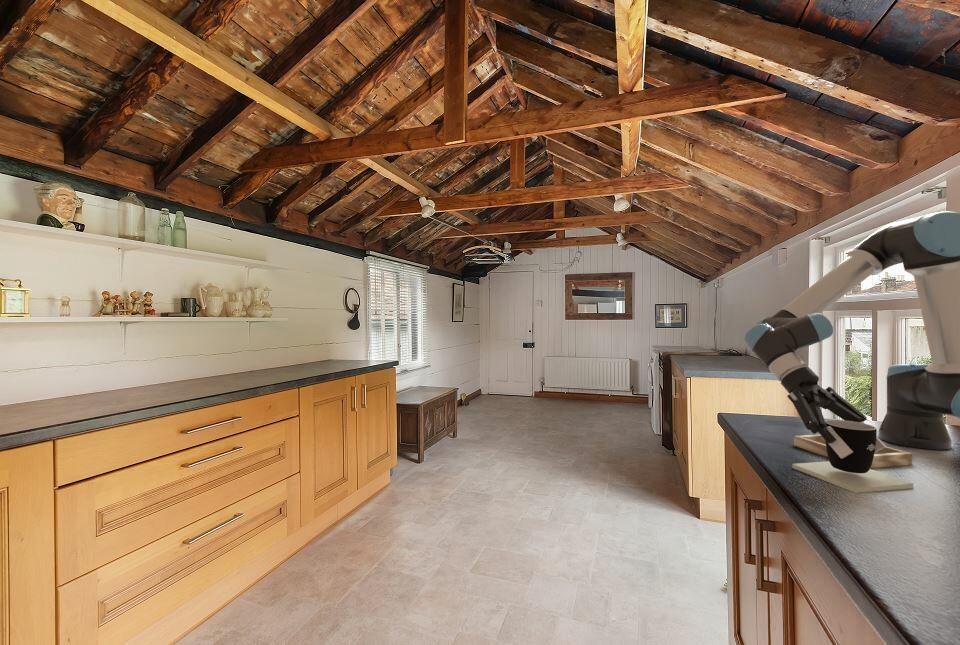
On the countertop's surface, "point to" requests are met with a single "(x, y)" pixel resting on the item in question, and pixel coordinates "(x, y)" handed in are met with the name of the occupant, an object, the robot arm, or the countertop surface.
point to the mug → (853, 445)
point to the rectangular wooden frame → (881, 457)
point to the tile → (853, 478)
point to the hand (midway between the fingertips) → (864, 452)
